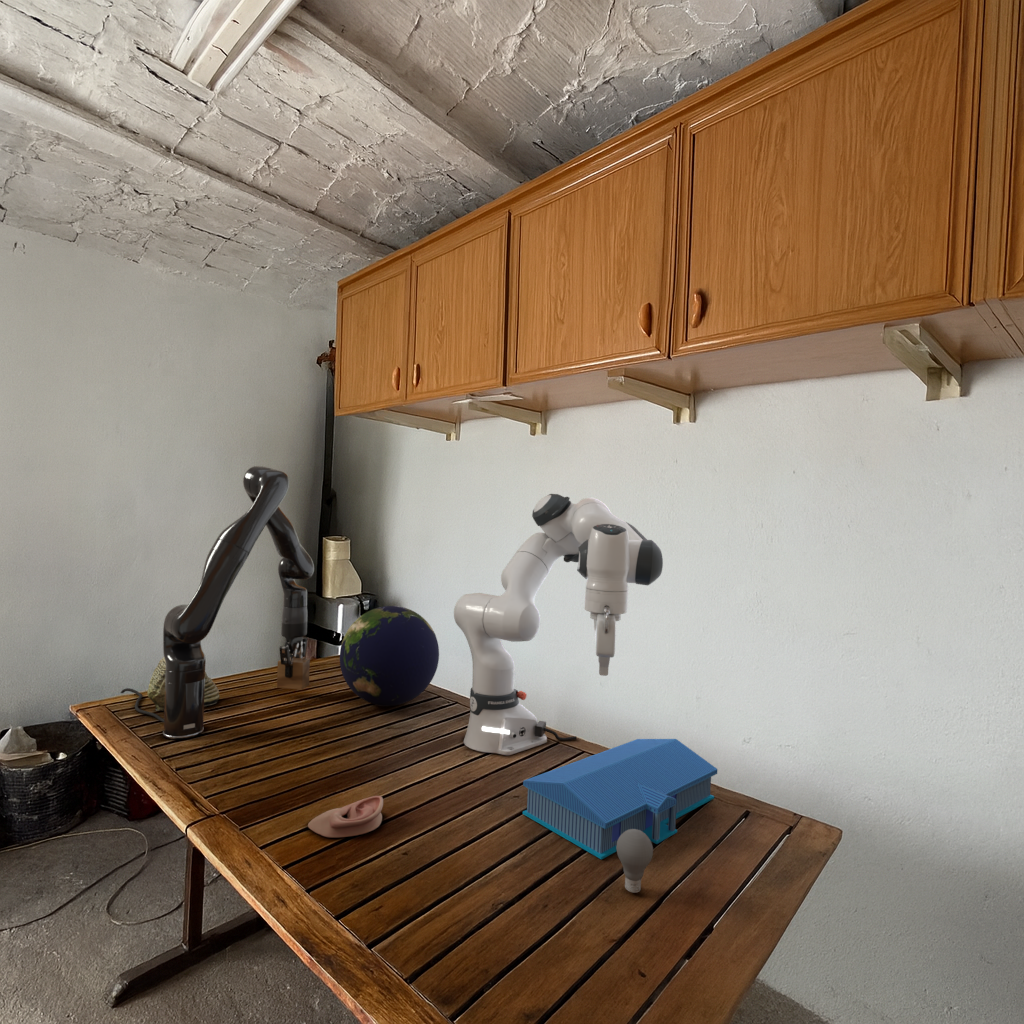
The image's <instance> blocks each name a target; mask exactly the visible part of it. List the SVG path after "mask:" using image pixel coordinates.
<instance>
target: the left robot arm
mask: <svg viewBox="0 0 1024 1024" xmlns="http://www.w3.org/2000/svg"><path fill="white" fill-rule="evenodd" d="M242 484H243V489H244V491H245V493H246V495H247V496H248V498H249V500H250V501H251V502H252V505H251V506H250V507H249V508H248V509H247V511H245V513H244V514H243V515H241V516H240V517H238V518H237V519H236V520H234V521H233V522H231V523H230V524H229V525H228V526H227V527H225V528H223V530H222V531H221V532H220V533H219V534H218V536H217V538H216V539H215V541H214V542H213V544H212V545H211V548H210V549H209V551H208V554H206V555H207V556H206V558H205V561H204V566H203V571H202V575H201V579H200V583H199V585H198V588H197V589H196V591H195V593H194V595H193V596H192V598H191V599H190V601H189V603H188V604H187V603H186V604H178V605H175V606H174V607H172V608H171V609H170V610H169V611H168V612H167V614H166V615H165V618H164V621H163V628H162V629H163V630H162V631H163V632H162V635H163V636H162V638H163V640H162V642H163V643H162V646H163V647H162V650H163V651H162V653H163V657H164V658H165V662H166V674H165V705H164V710H163V717H161V716H160V715H158V714H157V713H154V712H151V711H147V710H143V709H141V708H139V705H140V701H141V700H142V698H143V694H142V693H141V692H139V691H137V690H136V689H133V688H131V687H130V688H128V687H126V688H123V689H122V690H121V691H120V694H124V693H125V692H131V693H133V694H135V695H137V696H138V698H136V701H135V705H134V710H135V711H136V712H138V713H140V714H143V715H147V716H150V717H153V718H155V719H156V720H158V721H160V722H162V723H163V731H162V737H164V738H166V739H169V740H185V739H190V738H191V739H192V738H194V737H197V736H199V735H202V734H203V732H204V730H205V729H204V722H205V721H204V718H205V706H204V693H205V672H206V664H207V663H206V655H205V653H204V650H203V647H202V641H203V640H204V639H205V638H207V636H208V635H209V634H210V632H211V629H212V628H213V626H214V623H215V621H216V619H217V617H218V613H219V611H220V609H221V606H222V604H223V602H224V600H225V598H226V596H227V594H228V592H229V591H230V589H231V588H232V585H233V584H234V582H235V580H236V579H237V577H238V575H239V574H240V572H241V570H242V569H243V567H244V565H245V563H246V561H247V559H248V558H249V556H250V554H251V552H252V550H253V548H254V546H255V544H256V543H257V541H258V539H259V538H260V536H261V534H262V532H263V531H264V529H265V527H266V528H267V530H268V532H269V535H270V537H271V539H272V543H273V545H274V547H275V549H276V552H277V554H278V556H279V557H281V558H280V559H279V562H278V566H277V572H278V577H279V580H280V585H281V589H282V594H283V595H282V597H283V598H282V611H281V632H280V633H281V636H282V637H283V638H285V642H284V645H283V646H282V645H281V646H279V657H280V658H279V660H281V664H282V665H285V677H288V678H291V677H292V676H293V661H294V658H303V659H304V658H305V657H306V653H307V645H308V638H307V637H306V636H307V634H308V589H307V588H306V587H304V586H301V585H299V584H297V583H296V580H304V581H305V580H308V579H311V578H312V577H313V575H314V572H315V564H314V561H313V559H312V557H311V556H310V554H309V553H308V552H307V551H306V549H305V548H304V546H303V545H302V544H301V541H300V539H299V536H298V533H297V531H296V529H295V527H294V525H293V523H292V522H291V521H290V519H289V518H288V517H287V515H286V514H284V512H283V511H282V509H281V507H279V506H280V505H281V504H282V502H283V501H284V499H285V497H286V496H287V493H288V491H289V488H290V478H289V476H288V474H287V473H285V472H284V471H282V470H278V469H274V468H271V467H267V466H263V465H254V466H251V467H250V468H248V469H247V470H246V472H245V473H244V475H243V480H242ZM284 658H285V660H284ZM290 658H291V660H290Z"/></svg>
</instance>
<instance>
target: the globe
mask: <svg viewBox="0 0 1024 1024" xmlns="http://www.w3.org/2000/svg"><path fill="white" fill-rule="evenodd" d="M436 635H437V634H436V633H435V631H434V629H433V628H432V626H431V624H430V623H429V622H428V621H427V620H426V619H425V618H424V617H423V616H422V615H421V614H419V613H417V612H416V611H414V610H412V609H410V608H407V607H404V606H399V605H384V606H380V607H379V606H378V607H375V608H373V609H371V610H368V611H366V612H364V613H363V614H362V615H360V616H359V617H358V618H357V619H356V620H355V621H354V622H352V623H351V624H350V626H349V628H348V629H347V631H346V632H345V635H344V636H343V639H342V641H341V645H340V650H339V666H340V671H341V674H342V677H343V679H344V681H345V683H346V685H347V686H348V687H349V689H350V690H351V691H352V692H353V694H355V695H356V696H357V697H358V698H360V699H362V700H363V701H365V702H367V703H369V704H372V705H374V706H378V707H394V706H399V705H403V704H405V703H408V702H410V701H412V700H414V699H415V698H417V697H418V696H420V695H421V694H422V693H423V692H424V691H425V690H426V689H427V688H428V687H429V685H430V684H431V682H432V681H433V679H434V677H435V675H436V673H437V669H438V667H439V661H440V660H439V659H440V647H439V642H438V638H437V636H436Z"/></svg>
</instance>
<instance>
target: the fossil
mask: <svg viewBox="0 0 1024 1024" xmlns="http://www.w3.org/2000/svg"><path fill="white" fill-rule="evenodd" d="M165 674H166V662H165V658H164V656H163V657H162V658H161V659H160V660H159V662H158V663H157V666H156V667H155V669H154V670H153V672H152V675H151V677H150V680H149V684H148V688H147V697H148V699H149V700H150V701H152V703H153V704H154V706H155V711H158V712H159V711H162V712H163V711H164V705H165ZM220 698H221V696H220V690H219V688H218V686H217V685H216V683H215V682H214V681H213V679H212V678H211V677H209V675H208V674H207V672H206V671H205V693H204V707H207V706H213V705H215V704H217V703H218V701H219V699H220Z"/></svg>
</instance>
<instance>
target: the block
mask: <svg viewBox="0 0 1024 1024" xmlns="http://www.w3.org/2000/svg"><path fill="white" fill-rule="evenodd" d="M284 660H285V658H284ZM290 660H291V658H290ZM310 660H311V659H310V658H304V657H303V658H294V661H293V676H292V677H291V678H288V677H285V665H282V664H281V659H279V660H278V661H277V672H276V673H277V674H276V675H277V676H276V677H277V678H276V683H277V684H276V688H277V689H288V690H289V689H290V690H301V691H302V690H304V689H306V688H307V687H308V686H310V670H311V666H310V665H311V661H310Z"/></svg>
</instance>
